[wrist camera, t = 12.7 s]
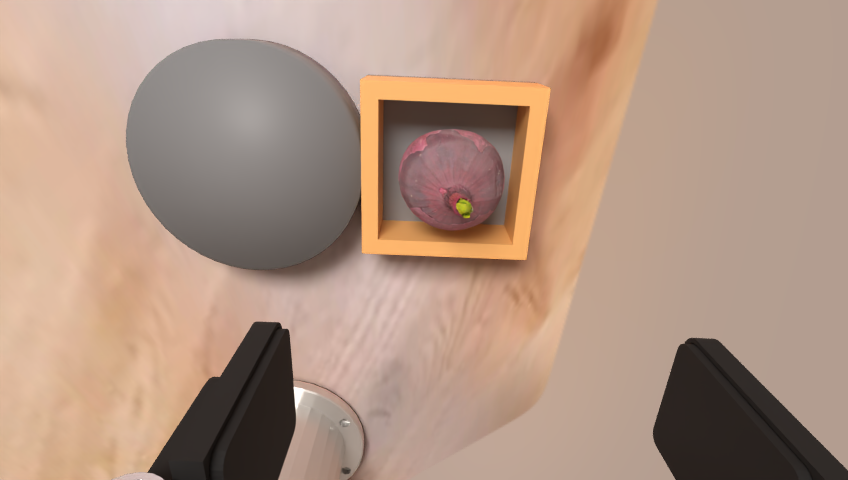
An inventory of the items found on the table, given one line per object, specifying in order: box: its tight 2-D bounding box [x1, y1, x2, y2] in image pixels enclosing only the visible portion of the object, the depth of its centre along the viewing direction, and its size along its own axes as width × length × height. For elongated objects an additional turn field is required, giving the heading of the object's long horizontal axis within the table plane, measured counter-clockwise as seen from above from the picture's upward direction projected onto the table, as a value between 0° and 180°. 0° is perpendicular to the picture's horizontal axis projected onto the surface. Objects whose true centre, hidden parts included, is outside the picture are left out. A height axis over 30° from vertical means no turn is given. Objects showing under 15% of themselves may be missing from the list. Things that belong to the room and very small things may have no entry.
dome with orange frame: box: [126, 39, 551, 270], centre depth 29 cm, size 14×24×4 cm, turn 88°
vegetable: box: [398, 129, 505, 231], centre depth 26 cm, size 6×6×10 cm
